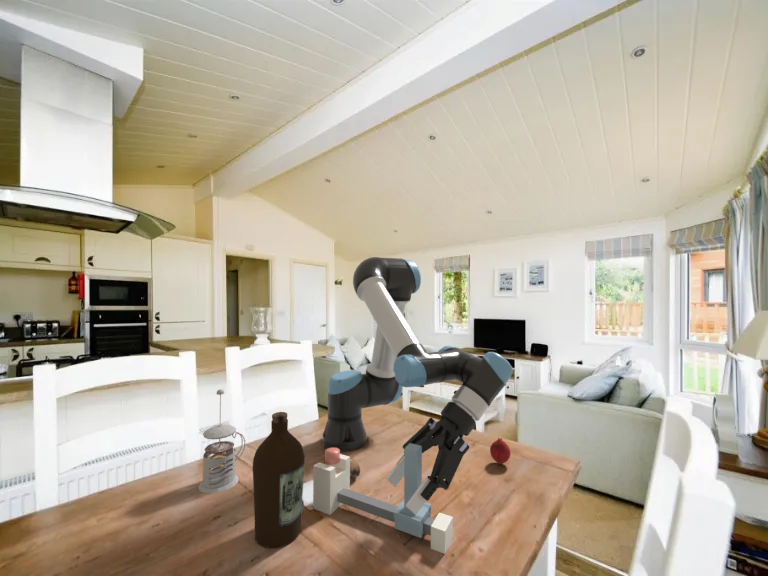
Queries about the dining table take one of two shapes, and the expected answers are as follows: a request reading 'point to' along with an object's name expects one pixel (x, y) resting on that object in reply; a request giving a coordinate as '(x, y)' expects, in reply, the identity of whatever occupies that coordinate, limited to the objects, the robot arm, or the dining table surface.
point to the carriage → (412, 481)
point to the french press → (219, 476)
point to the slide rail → (368, 502)
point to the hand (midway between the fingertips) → (399, 495)
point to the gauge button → (332, 456)
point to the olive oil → (278, 485)
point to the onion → (500, 451)
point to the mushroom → (354, 468)
